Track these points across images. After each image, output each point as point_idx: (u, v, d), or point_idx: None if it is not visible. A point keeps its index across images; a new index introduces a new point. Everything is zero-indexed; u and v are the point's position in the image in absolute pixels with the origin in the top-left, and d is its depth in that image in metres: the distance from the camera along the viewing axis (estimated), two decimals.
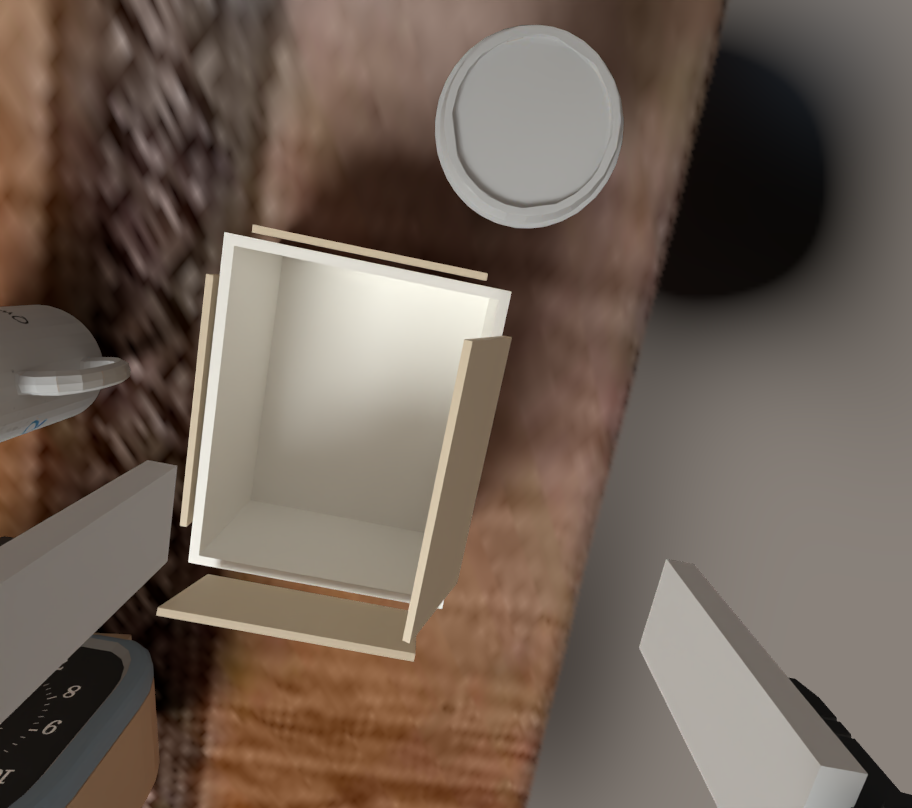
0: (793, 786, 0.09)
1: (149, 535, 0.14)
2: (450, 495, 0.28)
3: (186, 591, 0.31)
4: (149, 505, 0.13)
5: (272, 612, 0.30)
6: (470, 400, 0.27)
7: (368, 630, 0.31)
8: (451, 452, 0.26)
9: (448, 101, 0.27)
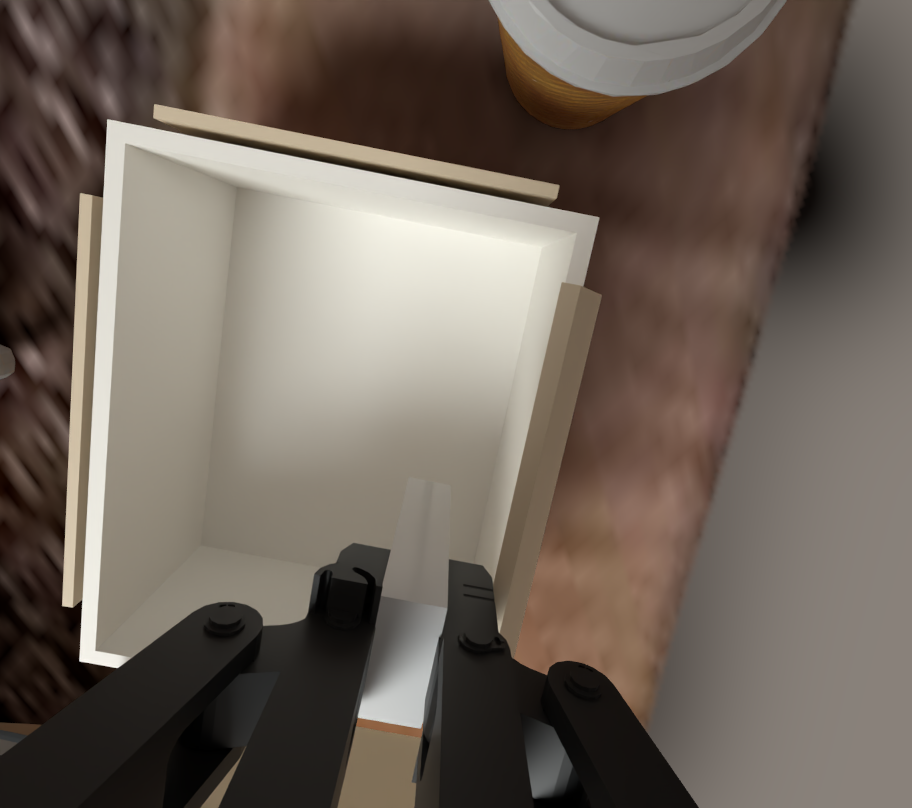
0: None
1: None
2: (516, 588, 0.15)
3: None
4: None
5: None
6: (559, 409, 0.14)
7: (356, 805, 0.18)
8: (528, 515, 0.13)
9: None
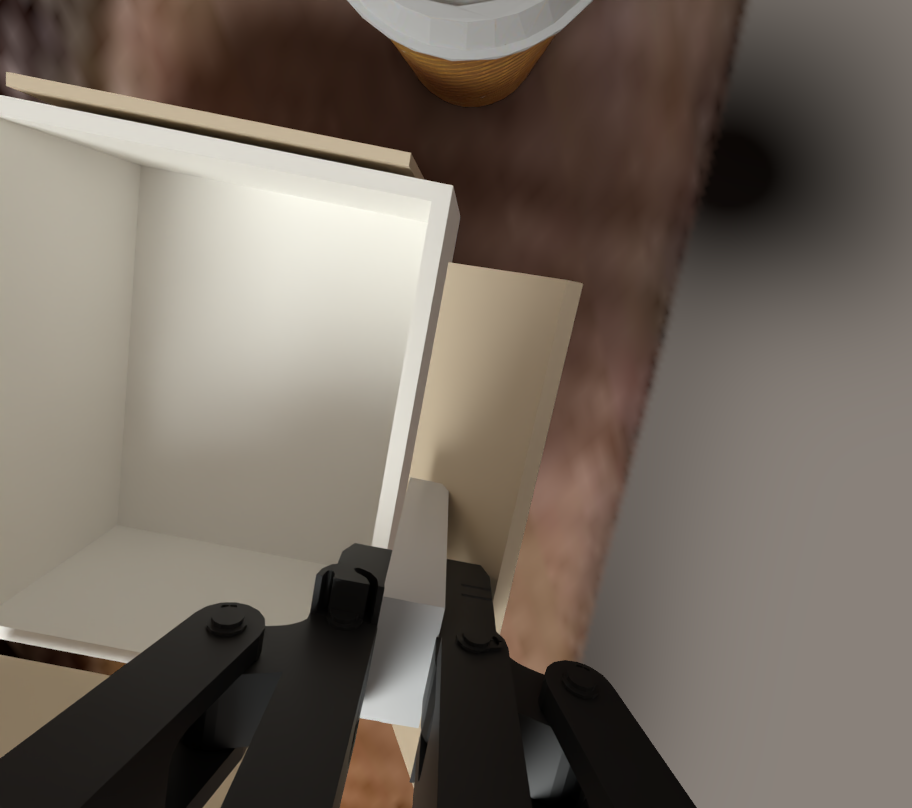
0: None
1: None
2: None
3: None
4: None
5: None
6: None
7: None
8: (524, 503, 0.13)
9: None
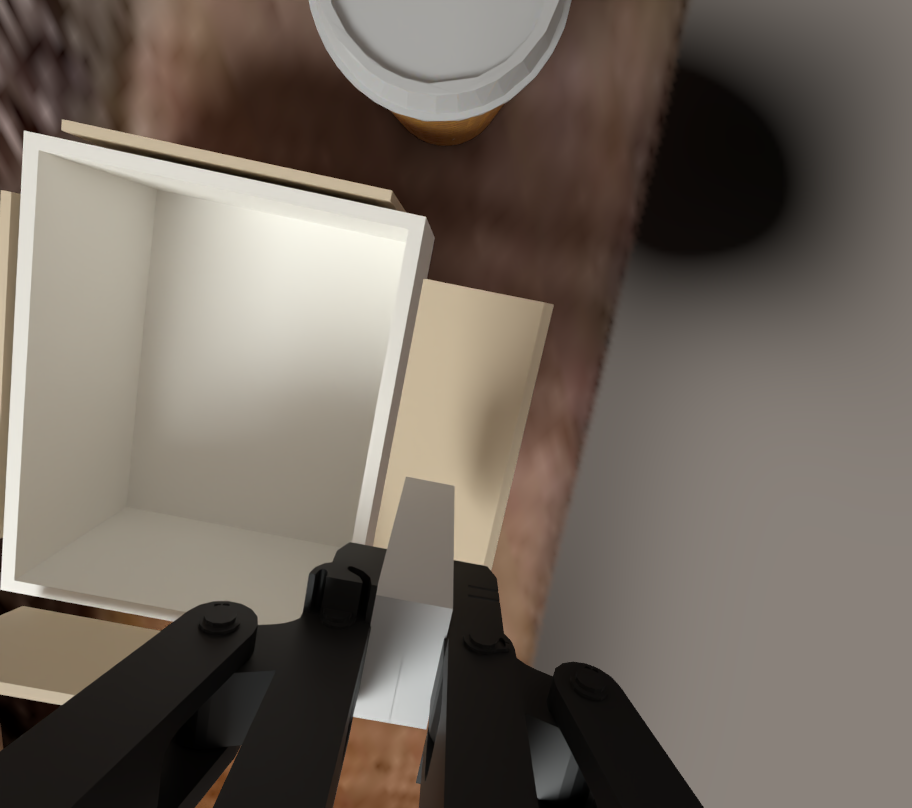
0: None
1: None
2: None
3: None
4: None
5: (79, 665, 0.21)
6: None
7: None
8: (510, 462, 0.19)
9: None
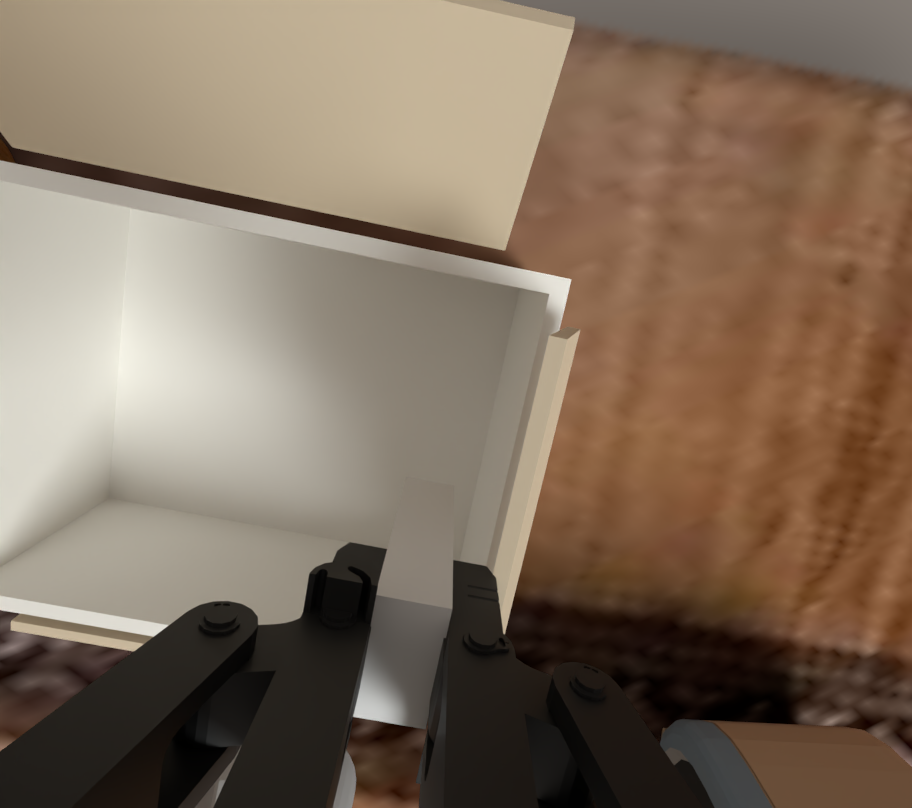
0: None
1: None
2: None
3: None
4: None
5: None
6: None
7: None
8: None
9: None
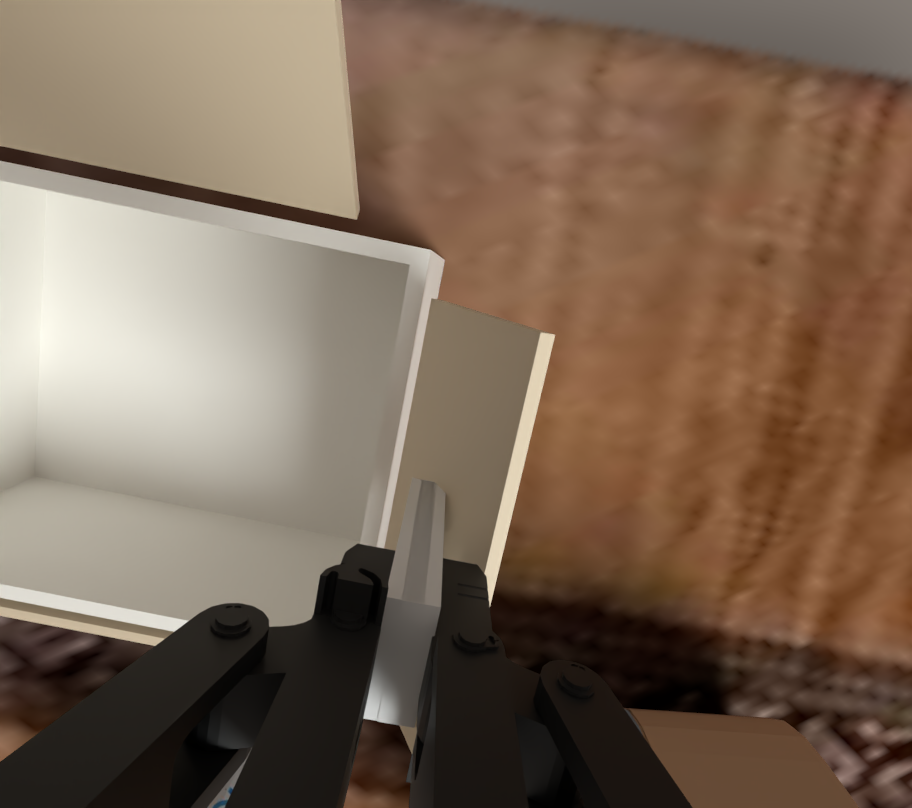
0: None
1: None
2: None
3: None
4: None
5: None
6: None
7: (476, 417, 0.15)
8: None
9: None
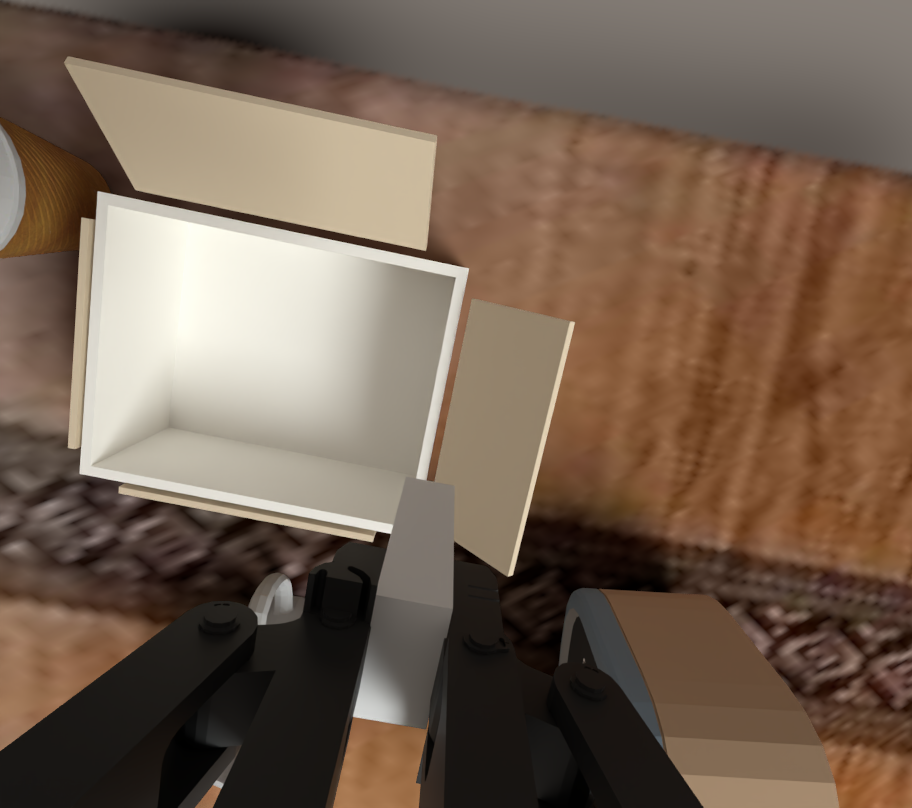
0: None
1: None
2: None
3: (468, 546, 0.30)
4: None
5: (499, 465, 0.29)
6: None
7: (523, 366, 0.28)
8: (198, 89, 0.23)
9: None
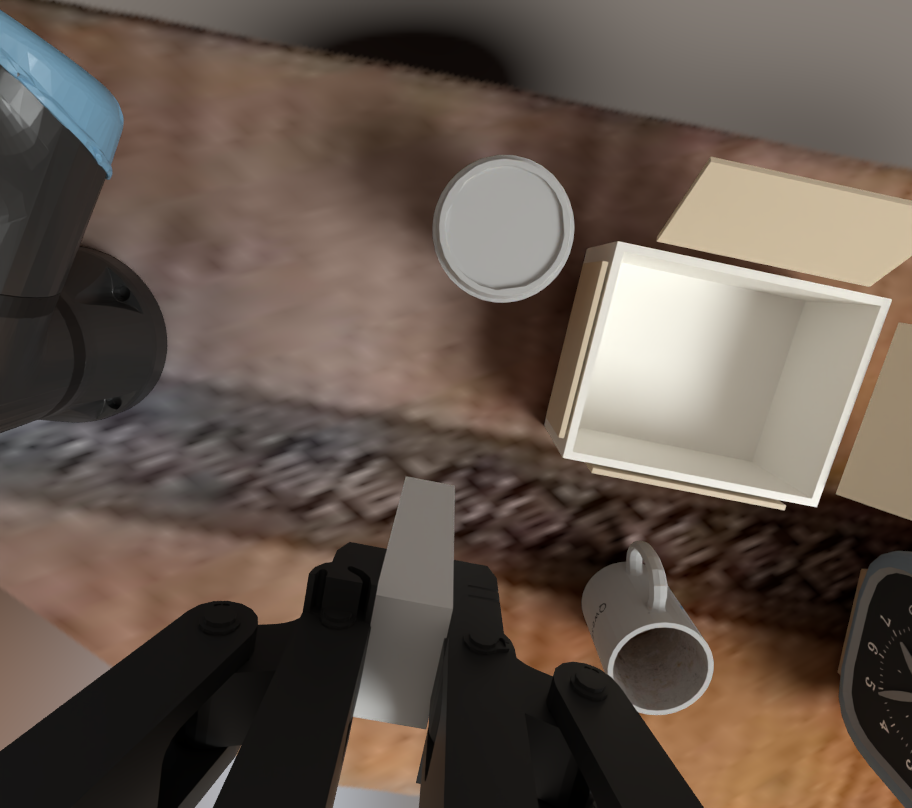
0: None
1: None
2: None
3: (892, 511, 0.40)
4: None
5: None
6: None
7: None
8: (795, 179, 0.33)
9: (488, 292, 0.38)
